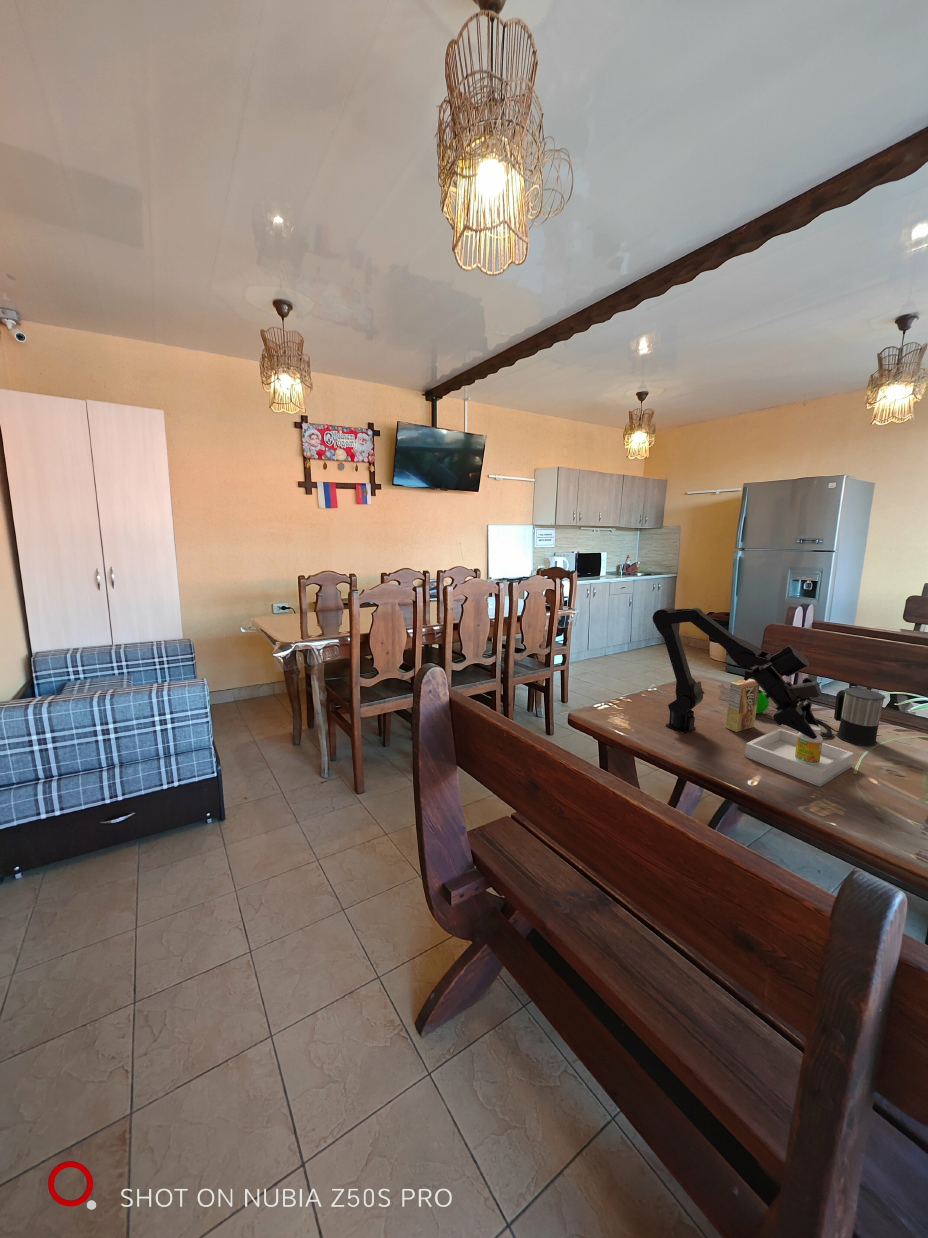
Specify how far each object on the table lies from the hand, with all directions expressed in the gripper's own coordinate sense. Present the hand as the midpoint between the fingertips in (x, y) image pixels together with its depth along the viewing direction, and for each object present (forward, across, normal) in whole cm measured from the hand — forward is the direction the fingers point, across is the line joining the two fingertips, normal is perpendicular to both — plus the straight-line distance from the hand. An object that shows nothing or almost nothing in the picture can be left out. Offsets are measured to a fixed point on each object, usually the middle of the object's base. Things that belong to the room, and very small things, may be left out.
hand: (817, 734), depth 120 cm
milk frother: (+8, +26, +4) cm, 28 cm away
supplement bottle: (+5, 0, +7) cm, 8 cm away
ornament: (-8, +30, +21) cm, 37 cm away
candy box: (-8, +13, +21) cm, 26 cm away
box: (+4, 0, +9) cm, 10 cm away
